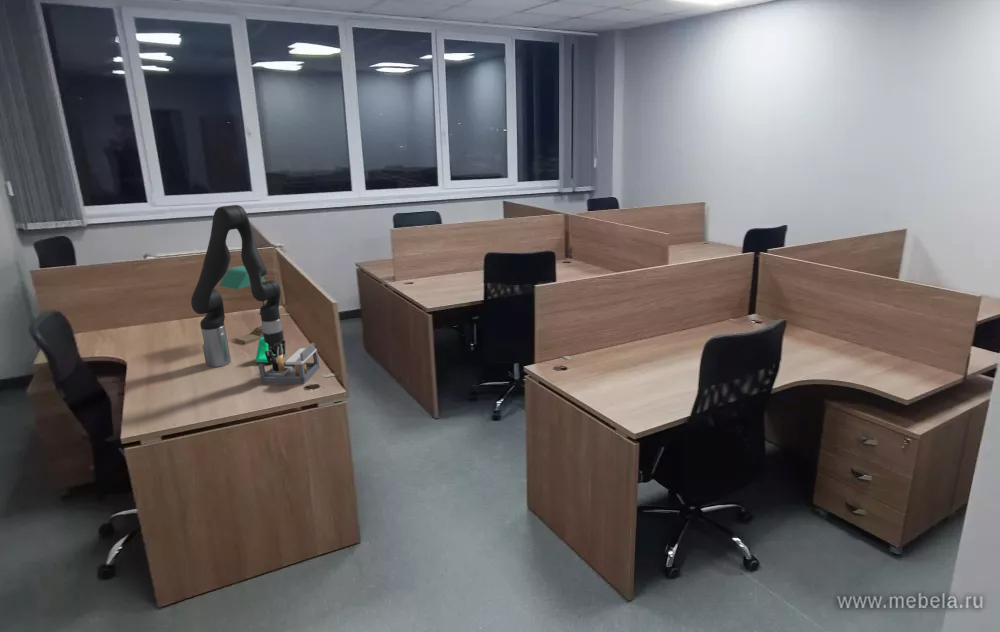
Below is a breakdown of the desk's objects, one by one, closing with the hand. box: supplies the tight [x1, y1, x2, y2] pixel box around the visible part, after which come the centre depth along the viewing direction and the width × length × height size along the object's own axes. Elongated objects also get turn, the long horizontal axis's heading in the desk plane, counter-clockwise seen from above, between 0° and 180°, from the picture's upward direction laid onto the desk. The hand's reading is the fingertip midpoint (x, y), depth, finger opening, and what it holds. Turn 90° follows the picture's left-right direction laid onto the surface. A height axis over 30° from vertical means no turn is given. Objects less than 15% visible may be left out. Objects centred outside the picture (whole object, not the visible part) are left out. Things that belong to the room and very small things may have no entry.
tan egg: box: [274, 354, 285, 372], centre depth 241 cm, size 4×4×6 cm
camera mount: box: [255, 337, 287, 364], centre depth 258 cm, size 12×8×10 cm, turn 168°
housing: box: [258, 350, 320, 385], centre depth 241 cm, size 18×16×8 cm
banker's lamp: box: [218, 265, 267, 345], centre depth 282 cm, size 16×21×35 cm
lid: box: [284, 342, 318, 365], centre depth 238 cm, size 7×15×4 cm, turn 175°
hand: (278, 368), depth 241 cm, fingers closed on tan egg, 4 cm apart
